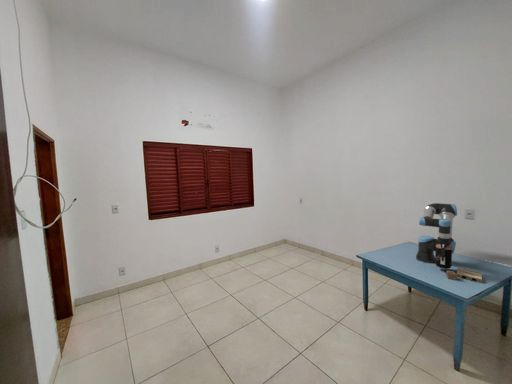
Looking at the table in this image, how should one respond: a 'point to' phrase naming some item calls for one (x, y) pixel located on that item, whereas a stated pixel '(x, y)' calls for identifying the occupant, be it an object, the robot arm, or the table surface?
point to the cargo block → (451, 275)
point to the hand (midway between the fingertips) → (443, 261)
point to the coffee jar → (447, 257)
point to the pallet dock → (469, 274)
